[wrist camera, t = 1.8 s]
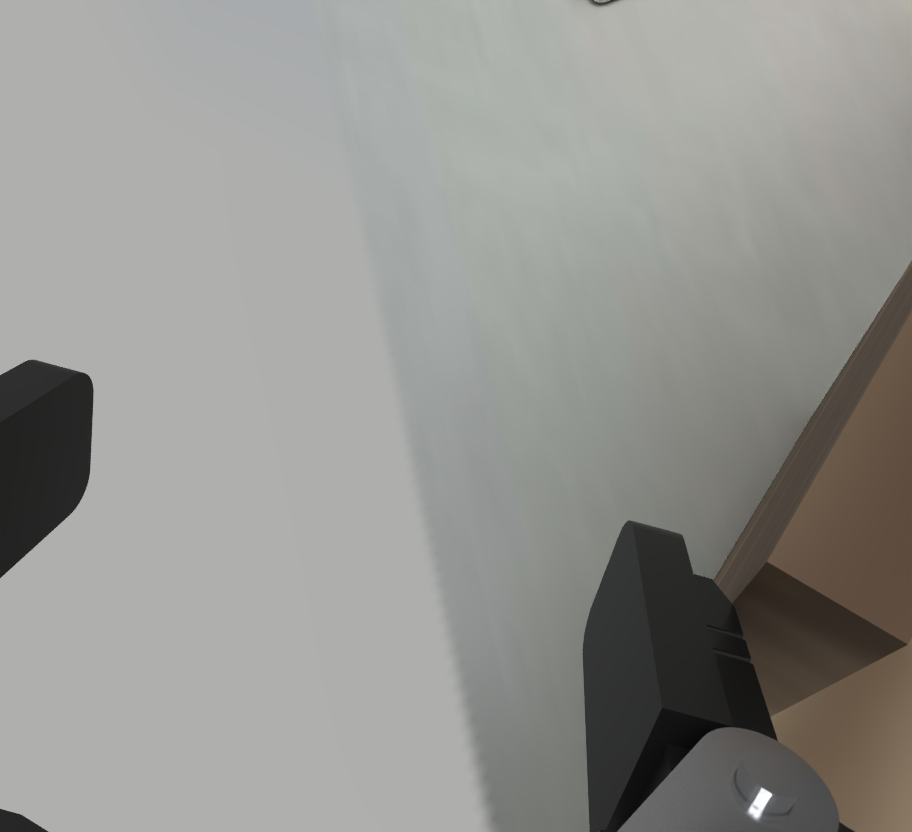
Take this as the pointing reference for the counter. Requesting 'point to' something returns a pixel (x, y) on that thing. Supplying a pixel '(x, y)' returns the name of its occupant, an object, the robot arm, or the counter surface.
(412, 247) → the counter surface
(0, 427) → the robot arm
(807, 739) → the board
